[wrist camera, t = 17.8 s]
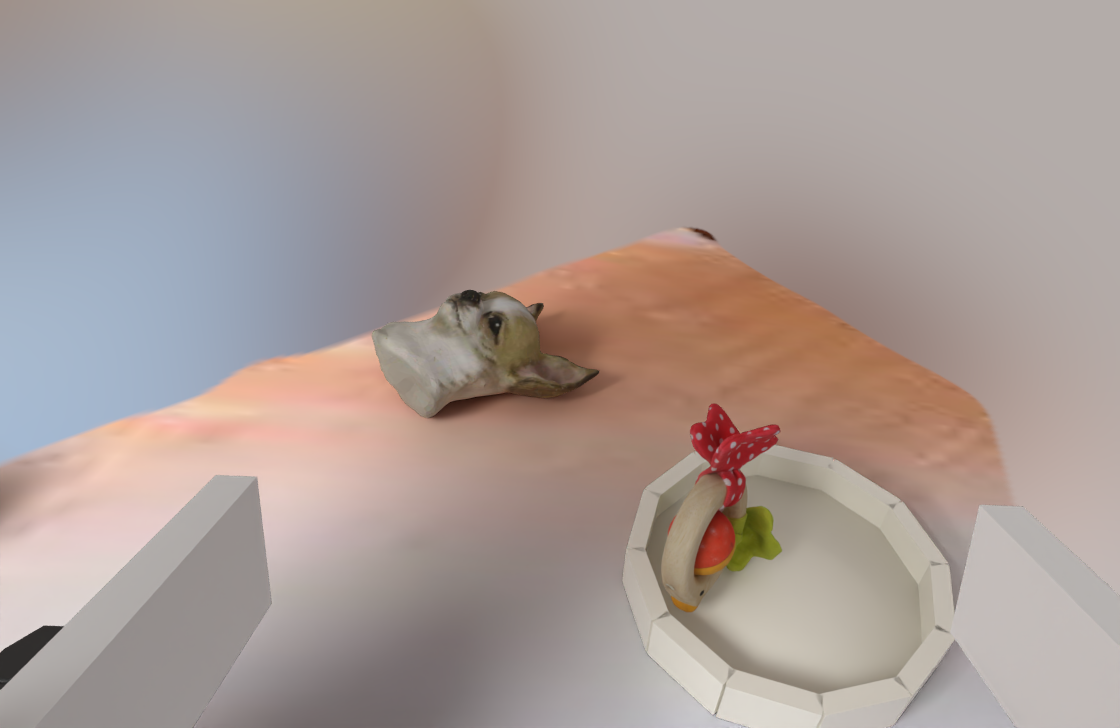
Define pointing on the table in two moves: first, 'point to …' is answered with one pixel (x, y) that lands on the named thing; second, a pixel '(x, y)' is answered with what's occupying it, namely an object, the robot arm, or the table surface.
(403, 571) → the table surface
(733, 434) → the bird rattle
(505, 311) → the ceramic sculpture
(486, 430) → the table surface
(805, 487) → the cream dish
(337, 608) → the table surface
